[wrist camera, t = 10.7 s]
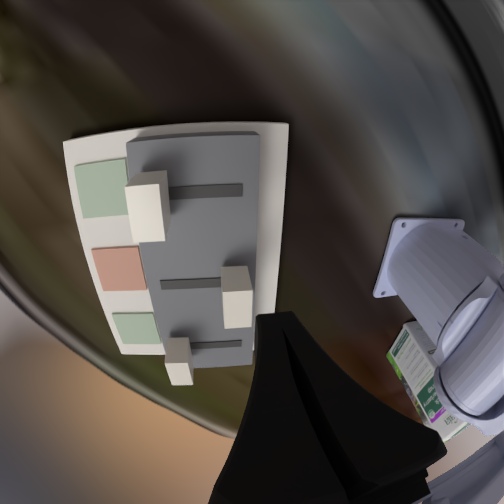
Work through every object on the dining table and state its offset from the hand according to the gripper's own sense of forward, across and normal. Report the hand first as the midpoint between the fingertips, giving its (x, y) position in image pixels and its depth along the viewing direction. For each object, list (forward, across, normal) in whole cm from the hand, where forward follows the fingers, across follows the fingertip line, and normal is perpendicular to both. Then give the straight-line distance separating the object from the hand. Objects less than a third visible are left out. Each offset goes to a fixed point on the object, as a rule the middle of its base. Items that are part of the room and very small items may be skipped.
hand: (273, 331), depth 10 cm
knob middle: (+7, +1, +3) cm, 8 cm away
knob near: (+7, +5, -3) cm, 9 cm away
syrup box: (+11, -21, +16) cm, 28 cm away
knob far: (+7, +5, +9) cm, 12 cm away
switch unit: (+10, +4, +3) cm, 12 cm away
